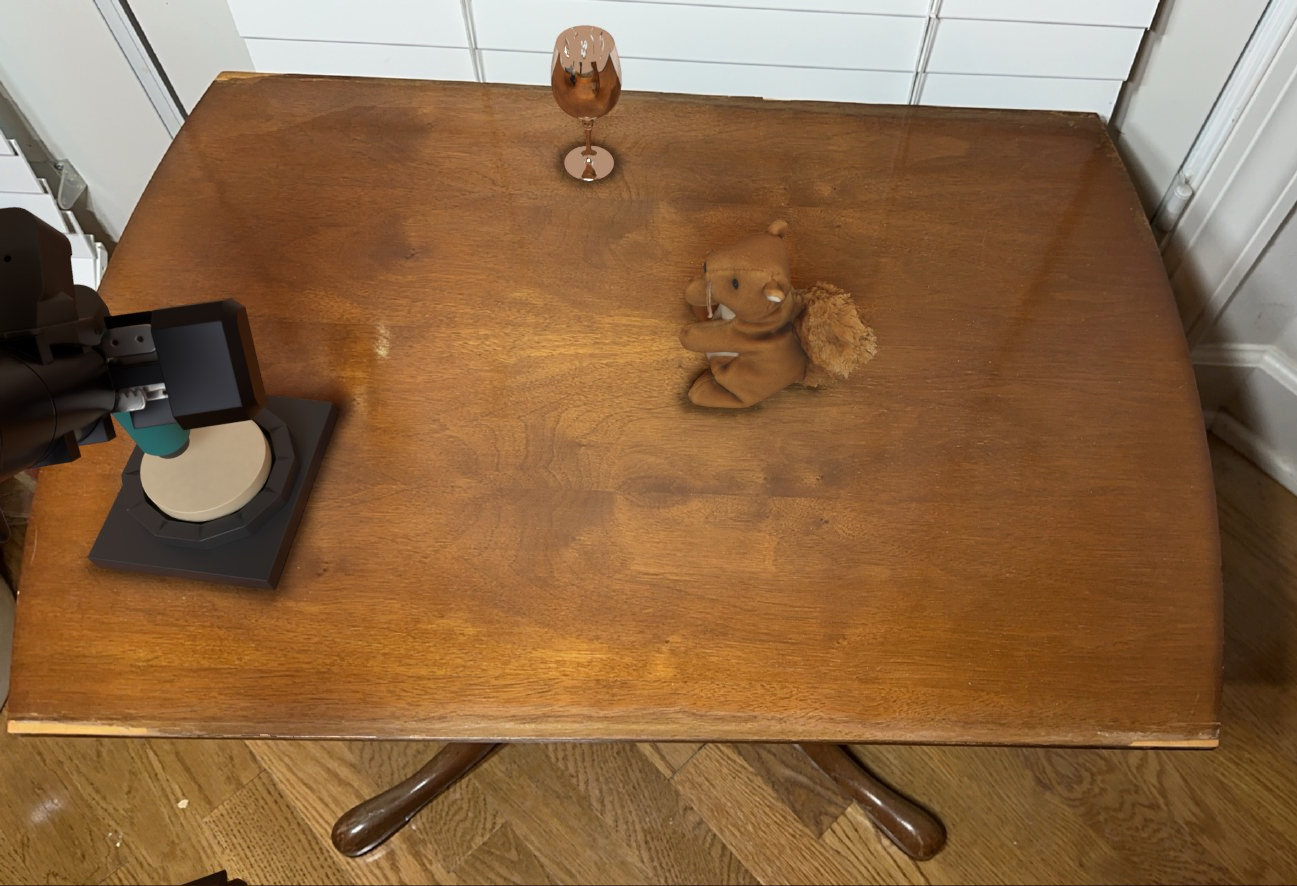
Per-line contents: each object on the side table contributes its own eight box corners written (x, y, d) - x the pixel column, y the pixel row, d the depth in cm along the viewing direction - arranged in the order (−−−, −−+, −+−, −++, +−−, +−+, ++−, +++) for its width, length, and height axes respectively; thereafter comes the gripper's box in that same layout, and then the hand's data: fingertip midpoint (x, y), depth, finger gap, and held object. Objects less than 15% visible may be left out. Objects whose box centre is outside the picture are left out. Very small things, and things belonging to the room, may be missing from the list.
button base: (275, 590, 60) (259, 572, 58) (98, 567, 61) (75, 548, 58) (338, 414, 67) (327, 391, 65) (180, 394, 68) (163, 370, 65)
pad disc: (248, 529, 60) (240, 520, 58) (129, 514, 60) (119, 504, 59) (288, 426, 64) (282, 415, 63) (176, 412, 64) (168, 401, 63)
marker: (211, 438, 60) (113, 301, 48) (170, 476, 58) (60, 343, 47) (174, 414, 61) (70, 274, 49) (133, 451, 59) (16, 314, 48)
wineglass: (620, 187, 80) (620, 68, 70) (554, 185, 80) (545, 66, 70) (622, 142, 83) (623, 22, 73) (559, 140, 83) (550, 19, 73)
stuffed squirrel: (686, 301, 74) (698, 176, 63) (861, 330, 73) (905, 208, 62) (664, 402, 69) (673, 286, 58) (852, 435, 68) (899, 323, 56)
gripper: (163, 192, 38) (256, 201, 53) (-335, 251, 36) (-91, 244, 51) (227, 447, 41) (298, 388, 56) (-232, 518, 39) (-30, 437, 54)
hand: (124, 361), depth 54 cm, fingers closed on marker, 3 cm apart
